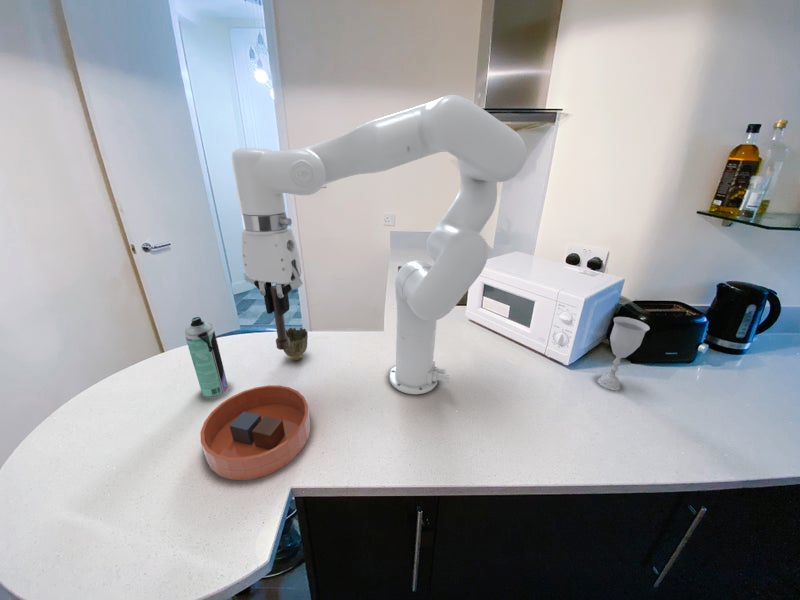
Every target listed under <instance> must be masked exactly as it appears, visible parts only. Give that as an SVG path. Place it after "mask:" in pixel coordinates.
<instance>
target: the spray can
mask: <svg viewBox="0 0 800 600" xmlns="http://www.w3.org/2000/svg"><path fill="white" fill-rule="evenodd" d="M184 336H185V340H186V344H187V347H188V350H189V354H190V357H191V361H192V364H193V368H194V371H195V374H196V378H197V382H198V384H199V388H200V392H201V395H202V397H203V398H206V399H214V398H218V397H220V396H222V395H224V394H225V393H226V392H228V390H229V384H228V381H227V377H226V372H225V369H224V363H223V359H222V356H221V352H220V348H219V344H218V340H217V335H216V331H215V328H214V327H213V324H212V323H210V322H206V321H204V320H202V318H201V317H200V316H195V317H193V318H192V319H191V322H190V324H189V326H187V327H186V328H185V329H184Z"/></svg>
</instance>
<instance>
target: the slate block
mask: <svg viewBox="0 0 800 600" xmlns="http://www.w3.org/2000/svg"><path fill="white" fill-rule="evenodd" d="M260 421H261V416H260V415H257V414H253V413H249V412H244V411H243V412H242V413H241V414H240V415H239V416H238V418H237V419H236V420H235V421H234V422H233V423H232V424H231V425H230V430H231V433H232V437H233V441H237V442H241V443H245V444H249V445H251V444H252V443H253V442H254V438H253V434H252V431H253V429H254V428H255V427H256V426H257V425H258V424H259V422H260Z"/></svg>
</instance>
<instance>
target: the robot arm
mask: <svg viewBox="0 0 800 600" xmlns="http://www.w3.org/2000/svg"><path fill="white" fill-rule="evenodd" d="M439 153H448V154H450V155H452V156H453V157H455V158H456V159H457V165H458V170H459V175H460V186H459V190H458V193H457V195H456V197H455V198H454V201H453V202H452V203H451V205H450V207H449V208H448V209H447V210H446V212H444V215H443V216H442V218H441V219H440V220H439V222H438V223H437V224H436V226H435V227H434V228H433V230H432V231H431V233H430V234H429V236H428V238H427V239H426V252H427V253H428V255H429V257H430V258H431V259H432V260H433V261H434V263H433V264H432V265H431V264H430V263H428V262H426V261H423V260H419V259H414V260H409V261H407V262H406V263H404V264H402V266H401V267H400V268H399V269H398V272H397V274H396V277H395V285H394V286H395V300H396V335H395V336H396V338H395V339H396V340H395V365H394V366H393V367H392V368H391V370H390V371H389V382H390V384H391V385H392V387H393V388H394V389H396V390H397V391H399V392H401V393H405V394H408V395H421V394H426V393H429V392H430V391H432V390H433V389H435V387H436V386H437V384H438V381H439V382H443V383H450V378H451V375H450V374H446V373H447V369H445V368H438V367H437V366H436V361H435V360H434V356H435V346H436V345H435V344H436V333H437V325H438V322H437V321H439V320H441V319H444V317H447V316H448V314H449V313H451V311H453V309H454V308H455V307H456V306H457V305H458V303H459V302H460V301H461V299H463V297H464V296H465V294H466V293H467V292H468V291H469V290H470V288H471V287H472V286H473V284H474V283H475V282H476V281H477V279H478V278H479V276H480V275H481V273H482V272H483V270H484V269H485V266H486V264H487V261H488V258H489V247H488V243H487V240H486V239H485V238H484V237H483V235H482V234H480V233H481V232H482V230H483V229H484V227H485V226H486V225H487V223H488V221H489V220H491V219H490V218H491V217H492V216H493V213H494V211H495V209H496V207H497V201H498V183H504V182H508V181H510V180H513V179H514V178H515V177H516V176H518V175H519V173H520V172H521V171H522V169H523V168H524V166H525V164H526V159H527V147H526V144H525V142H524V139H523V138H522V137H521V136H520V135H519V133H518V132H516V131H515V130H514V129H513V128H511V127H510V126H509V125H507V124H505V123H504V122H503V121H501V120H500V119H499V118H496V117H495V116H494V115H492V114H491V113H490V112H488V111H487V110H485V109H484V108H482V107H481V106H479V105H478V104H476V103H475V102H473V101H471V100H470V99H468V98H466V97H464V96H461V95H458V94H448V95H447V94H446V95H444V96H442V97H440V98H437V99H434V100H432V101H429V102H427V103H423V104H420V105H417V106H414V107H411V108H409V109H405V110H402V111H399V112H396V113H393V114H390V115H386V116H384V117H380V118H376V119H373V120H370V121H368V122H365V123H363V124H361V125H359V126H356V127H355V128H354V129H351V130H350V131H348V132H346V133H344V134H341V135H338V136H336V137H332V138H330V139H327V140H323V141H321V142H318V143H315V144H311V145H309V146H305V147H302V148H292V149H285V150H284V149H283V150H272V149H268V148H251V147H250V148H249V147H248V148H247V147H245V148H241V147H240V148H236V149H234V150H233V151H232V152H231V156H230V159H231V165H232V171H233V176H234V182H235V187H236V193H237V199H238V204H239V211H240V216H241V220H242V227H243V229H242V230H241V254H242V256H241V257H242V264H243V268H244V273H245V275H246V276H245V280H246V282H249V283H250V284H252V285H254V286H255V287H256V288H257V289H258V290H259V293H260V295H261V296H263V299H264V305H265V310H266V314H267V315H271V314H273V313H274V310H273V304H272V297H271V291H270V287H272V286H274V284H275V286H276V289H277V296H278V297H276V299H275V300H276V307H277V313H278V315H280V316H282V315H284V314H286V313H287V312H288V311H290V300H289V294H290V293H291V292H292V291H293V290H296V289H299V288H301V287H302V286H303V281H302V278H301V277H302V266H301V265H302V264H301V259H300V254H299V250H298V244H297V241H296V239H295V238H296V237H295V235H294V233H293V230H292V229H291V228H290V229H289V228H288V226H292V223H293V221H292V218H290V217H287V213H286V206H285V205H286V204H285V197H284V194H288V195H295V196H311V195H314V194H316V193H318V192H319V191H320V190H321V189H322V188H323V186H325V185H327V184H330V183H333V182H336V181H339V180H342V179H345V178H349V177H353V176H358V175H363V174H364V175H365V174H376V173H381V172H386V171H389V170H391V169H394V168H397V167H400V166H403V165H405V164H408V163H411V162H413V161H418V160H421V159H423V158H426V157H429V156H433V155H435V154H439Z"/></svg>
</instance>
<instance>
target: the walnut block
mask: <svg viewBox="0 0 800 600" xmlns="http://www.w3.org/2000/svg"><path fill="white" fill-rule="evenodd" d="M252 434H253V438H254V442H255V446H256V447H260V448H264V449H268V450H271V449H273V448H275V447H276V446H277V445H278V444H279V442H280V441H281V440H282V438H283V437H284V435H285V432H284V426H283V420H280V419H275V418H271V417H266V416H265V417H264V418H263V419H262V420H261V421H260V422H259V424H258V425H257V426H256V427H255V428H254V429H253V431H252Z"/></svg>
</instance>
